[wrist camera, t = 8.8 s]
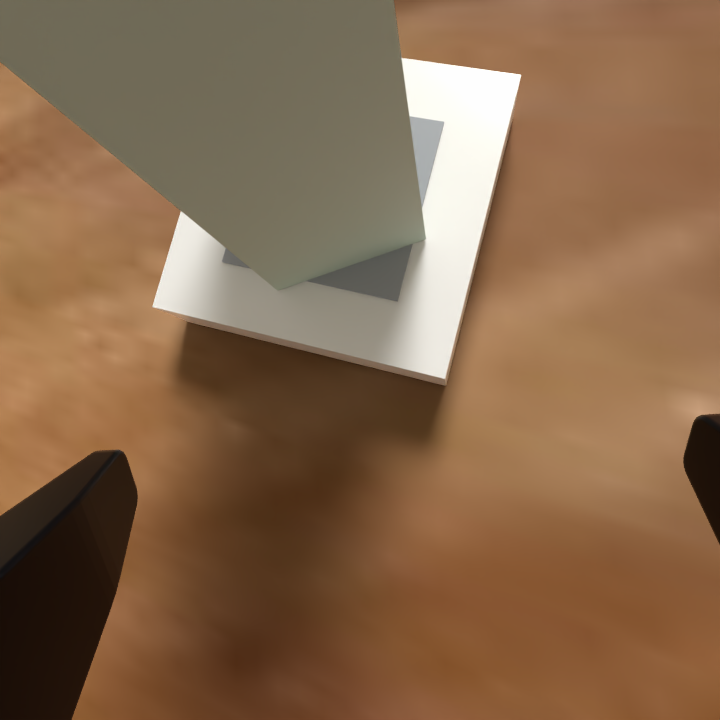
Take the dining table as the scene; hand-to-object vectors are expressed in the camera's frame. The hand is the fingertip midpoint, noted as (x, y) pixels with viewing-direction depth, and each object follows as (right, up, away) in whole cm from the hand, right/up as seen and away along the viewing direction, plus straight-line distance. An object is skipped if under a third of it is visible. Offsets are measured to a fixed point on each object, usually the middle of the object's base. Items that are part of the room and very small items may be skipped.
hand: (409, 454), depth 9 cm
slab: (-1, +7, +12) cm, 14 cm away
